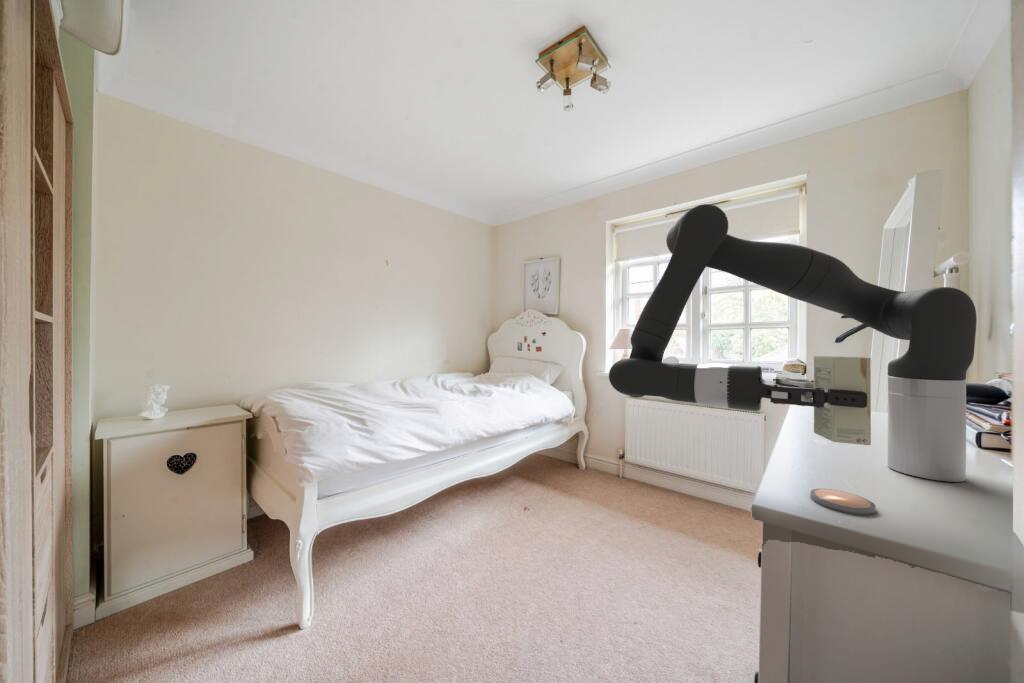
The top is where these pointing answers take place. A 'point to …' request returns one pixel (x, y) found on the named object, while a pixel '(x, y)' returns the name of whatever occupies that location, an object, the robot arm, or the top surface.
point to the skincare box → (841, 419)
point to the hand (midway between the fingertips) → (861, 396)
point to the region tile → (843, 501)
